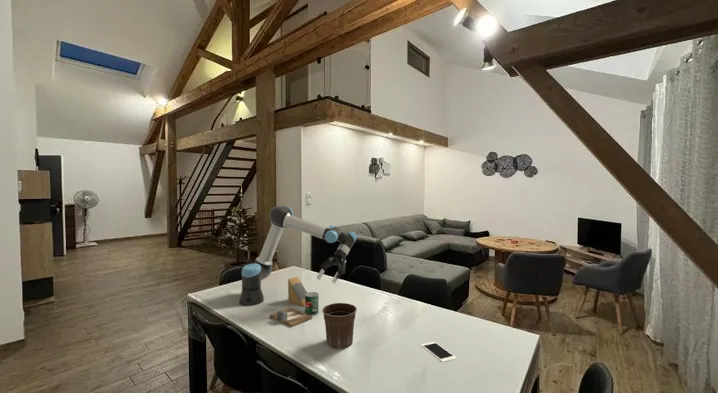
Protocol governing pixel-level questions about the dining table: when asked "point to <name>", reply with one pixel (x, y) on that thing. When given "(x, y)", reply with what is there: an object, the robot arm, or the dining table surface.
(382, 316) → the dining table surface
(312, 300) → the canned tomato
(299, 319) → the walnut board
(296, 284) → the sandwich container
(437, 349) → the cell phone
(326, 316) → the plant pot
